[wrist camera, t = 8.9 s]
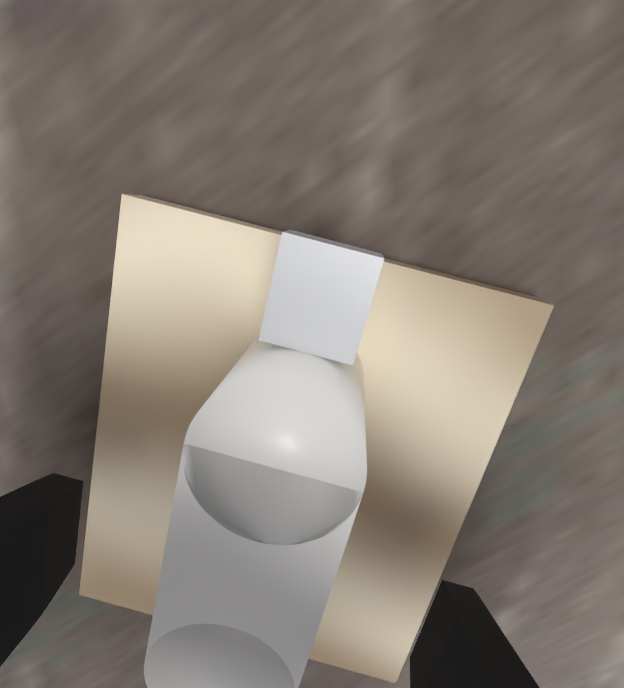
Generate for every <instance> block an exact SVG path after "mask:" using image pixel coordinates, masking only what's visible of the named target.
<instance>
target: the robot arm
mask: <svg viewBox="0 0 624 688" xmlns="http://www.w3.org/2000/svg"><path fill="white" fill-rule="evenodd" d="M82 488H83V481H80V480H77V479H73V478H69V477H66V476H62V475H58V474H55V473H53V474H50V475H48V476H46V477H43V478H41V479H39V480H36V481H34V482H32V483H30V484H27V485H25V486H23V487H21V488H19V489H16V490H14V491H12V492H10V493H8V494H5V495H3V496H1V497H0V666H1V665H2V664H3V662H4V661H5V660H6V659H7V657H8V656H9V655H10V654H11V652H12V651H13V650H14V649H15V648H16V646H17V645H18V644H19V643H20V641H21V640H22V639H23V638H24V636H25V635H26V634H27V633H28V631H29V630H30V629H31V628H32V626H33V625H34V624H35V622H36V621H37V620H38V619H39V617H40V616H41V615H42V613H43V612H44V610H45V609H46V607H47V606H48V604H49V603H50V601H51V600H52V598H53V597H54V595H55V594H56V592H57V591H58V589H59V588H60V586H61V584H62V583H63V581H64V580H65V578H66V577H67V575H68V573H69V572H70V570H71V569H72V567H73V565H74V564H75V556H76V546H77V536H78V527H79V517H80V507H81V497H82ZM410 688H539V686H538V685H537V683H536V682H535V680H534V679H533V677H532V676H531V674H530V673H529V671H528V670H527V669H526V667H525V666H524V664H523V663H522V661H521V659H520V658H519V656H518V655H517V653H516V652H515V650H514V649H513V647H512V646H511V644H510V643H509V641H508V640H507V638H506V637H505V635H504V634H503V632H502V631H501V629H500V628H499V626H498V624H497V623H496V621H495V620H494V618H493V617H492V615H491V614H490V612H489V611H488V609H487V608H486V606H485V605H484V603H483V602H482V600H481V599H480V597H479V596H478V594H477V593H476V591H475V590H474V589H473V588H469V587H466V586H462V585H458V584H455V583H451V582H447V581H444V580H442V582H441V585H440V587H439V589H438V592H437V594H436V597H435V599H434V601H433V604H432V606H431V608H430V611H429V613H428V616H427V618H426V620H425V623H424V625H423V628H422V630H421V632H420V635H419V637H418V639H417V642H416V644H415V647H414V649H413V651H412V654H411V656H410Z"/></svg>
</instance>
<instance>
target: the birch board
mask: <svg viewBox="0 0 624 688" xmlns="http://www.w3.org/2000/svg"><path fill="white" fill-rule="evenodd" d="M282 232H283V231H279V230H275V229H271V228H267V227H263V226H259V225H255V224H252V223H248V222H244V221H240V220H236V219H232V218H228V217H224V216H221V215H217V214H213V213H209V212H205V211H201V210H197V209H193V208H190V207H186V206H182V205H178V204H174V203H170V202H166V201H162V200H159V199H155V198H151V197H147V196H143V195H130V194H122V197H121V207H120V216H119V225H118V235H117V244H116V254H115V263H114V272H113V282H112V291H111V300H110V310H109V319H108V329H107V338H106V347H105V357H104V366H103V375H102V385H101V394H100V404H99V413H98V422H97V432H96V441H95V450H94V460H93V469H92V479H91V488H90V497H89V507H88V516H87V525H86V535H85V544H84V554H83V563H82V572H81V582H80V591H79V595H82V596H85V597H89V598H92V599H96V600H100V601H103V602H107V603H110V604H114V605H118V606H121V607H125V608H128V609H132V610H135V611H139V612H143V613H146V614H150V615H153V612H154V607H155V601H156V595H157V590H158V584H159V579H160V573H161V567H162V562H163V556H164V551H165V545H166V539H167V534H168V528H169V523H170V517H171V511H172V506H173V500H174V495H175V489H176V483H177V478H178V472H179V467H180V461H181V455H182V450H183V444H184V440H185V436H186V433H187V430H188V428H189V426H190V423H191V422H192V420H193V418H194V417H195V415H196V414H197V412H198V411H199V410H200V409H201V407H202V406H203V405H204V403H205V402H206V401H207V400H208V398H209V397H210V396H211V395H212V393H213V392H214V391H215V390H216V388H217V387H218V386H219V384H220V383H221V382H222V381H223V379H224V378H225V377H226V376H227V374H228V373H229V372H230V371H231V369H232V368H233V367H234V365H235V364H236V363H237V362H238V360H239V359H240V358H241V357H242V355H243V354H244V353H245V351H246V350H247V349H248V348H249V346H250V345H251V344H252V343H253V341H254V340H255V339H256V338H257V337H258V336H259V335H260V331H261V327H262V322H263V317H264V313H265V308H266V304H267V299H268V295H269V290H270V285H271V281H272V276H273V272H274V267H275V263H276V258H277V254H278V249H279V244H280V240H281V235H282ZM553 307H554V305H552V304H550V303H548V302H546V301H544V300H542V299H540V298H538V297H535V296H531V295H527V294H523V293H519V292H515V291H511V290H508V289H504V288H500V287H496V286H492V285H488V284H484V283H480V282H477V281H473V280H469V279H465V278H461V277H457V276H453V275H449V274H446V273H442V272H438V271H434V270H430V269H426V268H422V267H418V266H414V265H411V264H407V263H403V262H399V261H395V260H391V259H387V258H385V259H384V262H383V265H382V269H381V272H380V276H379V279H378V282H377V286H376V289H375V293H374V296H373V300H372V303H371V306H370V310H369V313H368V317H367V320H366V323H365V327H364V330H363V334H362V337H361V340H360V344H359V347H358V351H357V353H358V355H359V357H360V360H361V363H362V367H363V372H364V396H365V425H366V453H367V478H366V484H365V488H364V492H363V495H362V498H361V501H360V504H359V508H358V511H357V514H356V517H355V520H354V523H353V526H352V529H351V532H350V535H349V538H348V541H347V544H346V547H345V550H344V553H343V556H342V559H341V562H340V565H339V568H338V571H337V574H336V577H335V580H334V583H333V586H332V589H331V592H330V595H329V598H328V601H327V604H326V607H325V610H324V613H323V616H322V619H321V622H320V625H319V628H318V631H317V634H316V637H315V640H314V643H313V646H312V649H311V652H310V655H309V658H308V659H311V660H314V661H318V662H321V663H325V664H329V665H332V666H336V667H339V668H343V669H347V670H350V671H354V672H357V673H361V674H364V675H368V676H372V677H375V678H379V679H382V680H386V681H389V682H393V683H396V682H397V679H398V677H399V674H400V672H401V670H402V667H403V665H404V662H405V660H406V658H407V655H408V653H409V651H410V648H411V646H412V643H413V641H414V639H415V636H416V634H417V631H418V629H419V627H420V624H421V622H422V620H423V617H424V615H425V612H426V610H427V608H428V605H429V603H430V600H431V598H432V596H433V593H434V591H435V588H436V586H437V584H438V581H439V579H440V577H441V574H442V572H443V569H444V567H445V565H446V562H447V560H448V557H449V555H450V553H451V550H452V548H453V546H454V543H455V541H456V538H457V536H458V534H459V531H460V529H461V526H462V524H463V522H464V519H465V517H466V515H467V512H468V510H469V507H470V505H471V503H472V500H473V498H474V495H475V493H476V491H477V488H478V486H479V484H480V481H481V479H482V476H483V474H484V472H485V469H486V467H487V464H488V462H489V460H490V457H491V455H492V452H493V450H494V448H495V445H496V443H497V441H498V438H499V436H500V433H501V431H502V429H503V426H504V424H505V421H506V419H507V417H508V414H509V412H510V410H511V407H512V405H513V402H514V400H515V398H516V395H517V393H518V390H519V388H520V386H521V383H522V381H523V379H524V376H525V374H526V371H527V369H528V367H529V364H530V362H531V359H532V357H533V355H534V352H535V350H536V348H537V345H538V343H539V340H540V338H541V336H542V333H543V331H544V328H545V326H546V324H547V321H548V319H549V316H550V314H551V312H552V309H553Z"/></svg>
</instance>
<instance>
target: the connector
mask: <svg viewBox="0 0 624 688" xmlns="http://www.w3.org/2000/svg"><path fill="white" fill-rule="evenodd" d="M384 259H385V258H384V256H383V255H382V253H378V252H374V251H371V250H367V249H363V248H359V247H355V246H351V245H348V244H344V243H340V242H336V241H332V240H328V239H325V238H321V237H317V236H313V235H309V234H305V233H301V232H298V231H294V230H286V231H283V232H282V235H281V240H280V244H279V249H278V254H277V258H276V263H275V267H274V272H273V276H272V281H271V285H270V290H269V295H268V299H267V304H266V308H265V313H264V317H263V322H262V327H261V331H260V335H259V336H258V337H257V338H256V339H255V340H254V341H253V343H252V344H251V345H250V346H249V348H248V349H247V350H246V351H245V353H244V354H243V355H242V357H241V358H240V359H239V360H238V362H237V363H236V364H235V365H234V367H233V368H232V369H231V371H230V372H229V373H228V374H227V376H226V377H225V378H224V379H223V381H222V382H221V383H220V384H219V386H218V387H217V388H216V390H215V391H214V392H213V393H212V395H211V396H210V397H209V398H208V400H207V401H206V402H205V403H204V405H203V406H202V407H201V409H200V410H199V411H198V412H197V414H196V415H195V417H194V418H193V420H192V422H191V423H190V426H189V428H188V430H187V433H186V436H185V440H184V444H183V450H182V455H181V461H180V467H179V472H178V478H177V483H176V489H175V495H174V500H173V506H172V511H171V517H170V523H169V528H168V534H167V539H166V545H165V551H164V556H163V562H162V567H161V573H160V579H159V584H158V590H157V595H156V601H155V607H154V612H153V618H152V623H151V629H150V635H149V640H148V646H147V651H146V657H145V663H144V678H145V682H146V686H147V688H299V685H300V682H301V679H302V676H303V673H304V670H305V667H306V664H307V661H308V658H309V655H310V652H311V649H312V646H313V643H314V640H315V637H316V634H317V631H318V628H319V625H320V622H321V619H322V616H323V613H324V610H325V607H326V604H327V601H328V598H329V595H330V592H331V589H332V586H333V583H334V580H335V577H336V574H337V571H338V568H339V565H340V562H341V559H342V556H343V553H344V550H345V547H346V544H347V541H348V538H349V535H350V532H351V529H352V526H353V523H354V520H355V517H356V514H357V511H358V508H359V504H360V501H361V498H362V495H363V492H364V488H365V484H366V478H367V453H366V425H365V396H364V372H363V367H362V363H361V360H360V357H359V355H358V353H357V351H358V347H359V344H360V340H361V337H362V334H363V330H364V327H365V323H366V320H367V317H368V313H369V310H370V306H371V303H372V300H373V296H374V293H375V289H376V286H377V282H378V279H379V276H380V272H381V269H382V265H383V262H384Z"/></svg>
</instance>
